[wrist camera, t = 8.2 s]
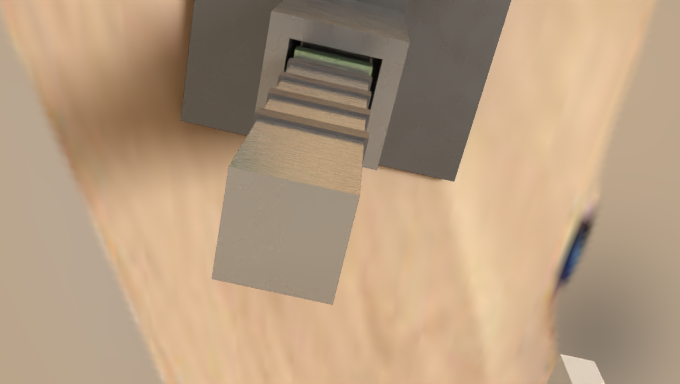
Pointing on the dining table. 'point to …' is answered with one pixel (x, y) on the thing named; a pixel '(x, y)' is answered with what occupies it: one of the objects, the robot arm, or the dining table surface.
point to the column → (298, 178)
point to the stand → (362, 38)
